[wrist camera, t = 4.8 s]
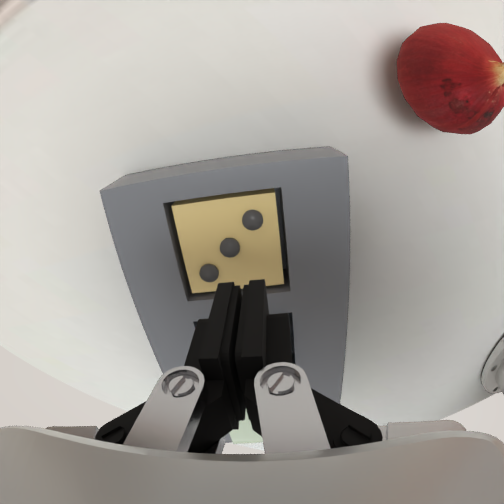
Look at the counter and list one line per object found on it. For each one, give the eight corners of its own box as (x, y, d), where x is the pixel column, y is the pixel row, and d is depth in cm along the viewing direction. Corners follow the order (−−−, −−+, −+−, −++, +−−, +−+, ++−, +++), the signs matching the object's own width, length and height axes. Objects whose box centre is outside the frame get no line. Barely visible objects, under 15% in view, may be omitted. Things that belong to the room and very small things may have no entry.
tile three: (272, 182, 16) (275, 193, 14) (281, 266, 19) (284, 286, 17) (180, 194, 17) (170, 207, 15) (197, 275, 19) (191, 295, 17)
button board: (330, 146, 17) (347, 155, 14) (329, 402, 26) (335, 432, 23) (125, 175, 17) (99, 190, 14) (201, 412, 27) (197, 442, 24)
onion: (456, 129, 16) (545, 154, 9) (378, 124, 16) (457, 142, 9) (451, 43, 13) (538, 31, 6) (370, 29, 13) (443, -9, 6)
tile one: (291, 383, 21) (294, 407, 19) (293, 420, 23) (296, 441, 21) (222, 389, 22) (220, 412, 20) (234, 424, 24) (233, 445, 22)
